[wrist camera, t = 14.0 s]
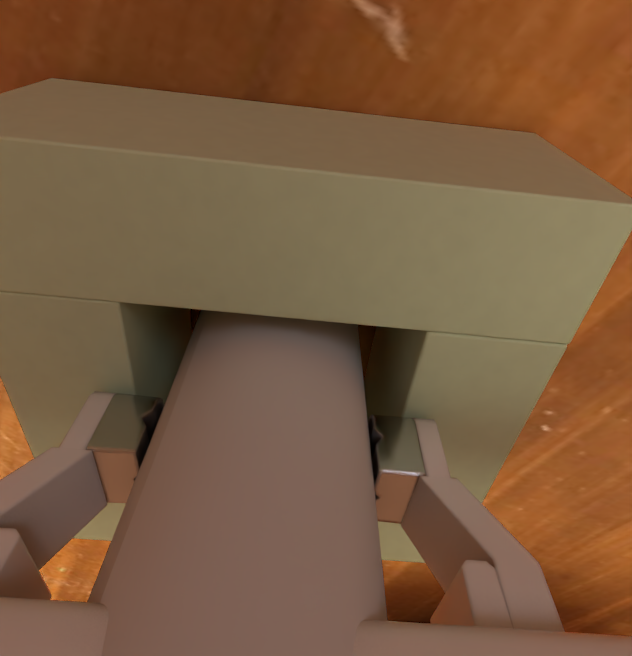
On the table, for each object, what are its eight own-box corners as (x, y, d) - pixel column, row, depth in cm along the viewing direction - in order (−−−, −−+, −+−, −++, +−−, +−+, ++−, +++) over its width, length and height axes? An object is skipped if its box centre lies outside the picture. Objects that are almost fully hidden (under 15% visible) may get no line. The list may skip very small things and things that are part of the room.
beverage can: (367, 361, 16) (439, 963, 6) (233, 383, 16) (101, 954, 7) (340, 233, 13) (391, 970, 3) (180, 266, 14) (-181, 954, 4)
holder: (50, 77, 11) (-106, 124, 7) (536, 132, 12) (646, 206, 8) (123, 419, 18) (66, 539, 14) (422, 443, 19) (448, 565, 15)
